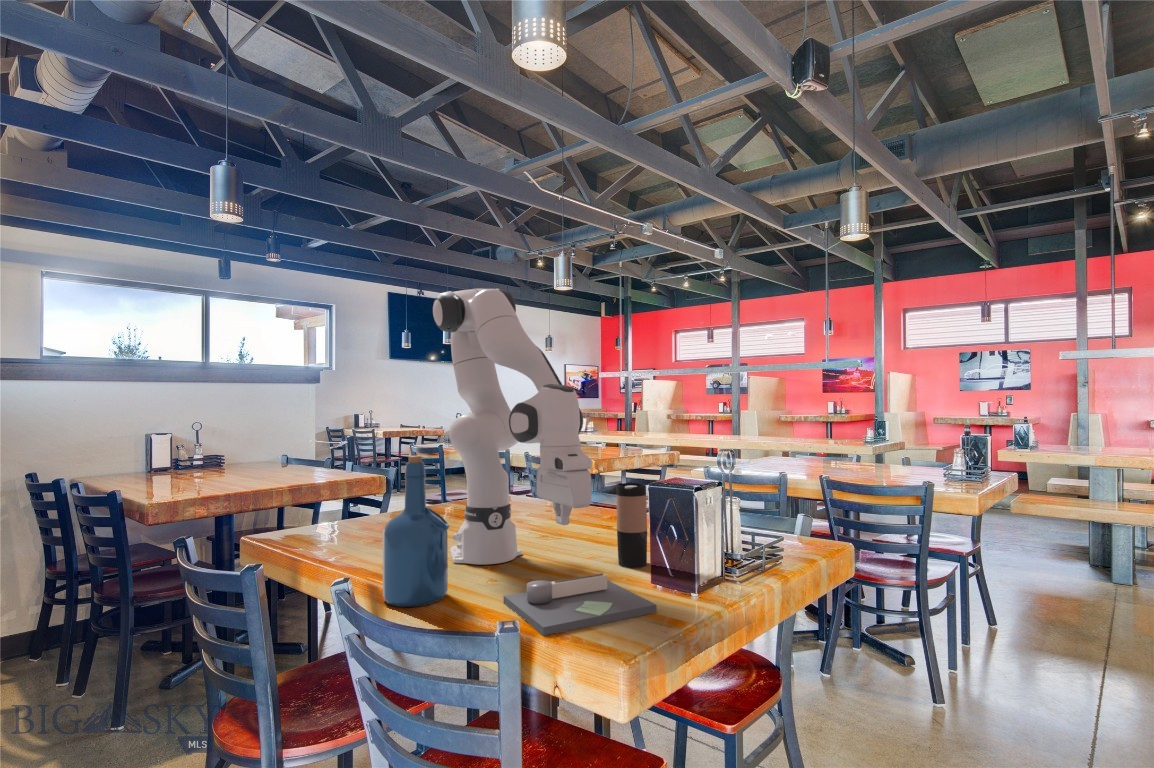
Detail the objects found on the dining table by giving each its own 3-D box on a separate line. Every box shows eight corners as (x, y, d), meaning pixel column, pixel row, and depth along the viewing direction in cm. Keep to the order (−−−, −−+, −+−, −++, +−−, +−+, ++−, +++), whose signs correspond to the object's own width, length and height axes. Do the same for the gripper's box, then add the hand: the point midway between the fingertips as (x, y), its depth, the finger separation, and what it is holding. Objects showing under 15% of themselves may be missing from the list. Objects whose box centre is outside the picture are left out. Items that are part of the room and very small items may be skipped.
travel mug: (636, 558, 154) (635, 482, 155) (653, 565, 148) (652, 485, 149) (611, 562, 151) (610, 484, 152) (628, 569, 144) (626, 487, 145)
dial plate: (503, 602, 121) (503, 594, 121) (604, 585, 132) (604, 577, 132) (543, 636, 103) (543, 626, 103) (657, 612, 114) (656, 603, 114)
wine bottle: (379, 611, 117) (378, 459, 118) (386, 591, 130) (386, 454, 131) (449, 605, 120) (448, 457, 121) (449, 586, 132) (449, 452, 134)
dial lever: (523, 597, 118) (522, 582, 118) (599, 584, 126) (598, 570, 126) (532, 605, 114) (532, 589, 114) (611, 591, 122) (610, 576, 122)
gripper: (528, 457, 135) (530, 518, 134) (568, 463, 116) (570, 533, 116) (553, 455, 138) (555, 515, 137) (596, 460, 119) (598, 529, 119)
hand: (562, 524), depth 126 cm, fingers closed
